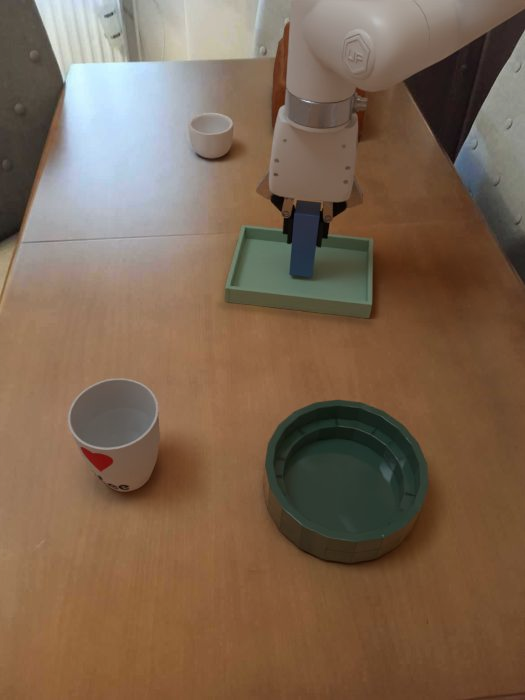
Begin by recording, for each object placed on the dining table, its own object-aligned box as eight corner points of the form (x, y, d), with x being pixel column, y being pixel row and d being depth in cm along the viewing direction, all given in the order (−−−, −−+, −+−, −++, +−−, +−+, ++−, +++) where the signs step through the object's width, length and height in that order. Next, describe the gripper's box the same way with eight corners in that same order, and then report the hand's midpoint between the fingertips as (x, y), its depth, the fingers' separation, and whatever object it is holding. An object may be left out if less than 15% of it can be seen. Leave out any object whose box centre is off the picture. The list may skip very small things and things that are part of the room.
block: (314, 263, 84) (321, 202, 77) (312, 277, 82) (319, 216, 75) (291, 260, 84) (296, 199, 77) (289, 275, 82) (294, 213, 75)
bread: (353, 86, 126) (363, 9, 115) (362, 144, 110) (376, 61, 99) (272, 83, 126) (275, 6, 115) (269, 140, 110) (273, 56, 99)
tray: (370, 252, 88) (373, 238, 86) (369, 318, 79) (372, 304, 77) (241, 238, 89) (242, 224, 88) (225, 302, 80) (224, 288, 78)
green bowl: (413, 437, 66) (424, 410, 62) (420, 575, 55) (432, 552, 52) (273, 419, 67) (275, 391, 63) (253, 551, 57) (254, 527, 53)
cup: (73, 464, 62) (52, 406, 55) (140, 424, 66) (128, 365, 59) (114, 520, 58) (96, 465, 51) (182, 475, 62) (175, 417, 55)
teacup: (233, 164, 104) (233, 134, 100) (188, 163, 103) (186, 134, 99) (233, 135, 110) (233, 107, 106) (192, 135, 110) (190, 106, 106)
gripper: (393, 96, 68) (367, 229, 81) (250, 83, 69) (247, 216, 83) (394, 127, 63) (366, 264, 76) (239, 113, 64) (239, 250, 77)
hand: (304, 238), depth 79 cm, fingers closed on block, 3 cm apart
